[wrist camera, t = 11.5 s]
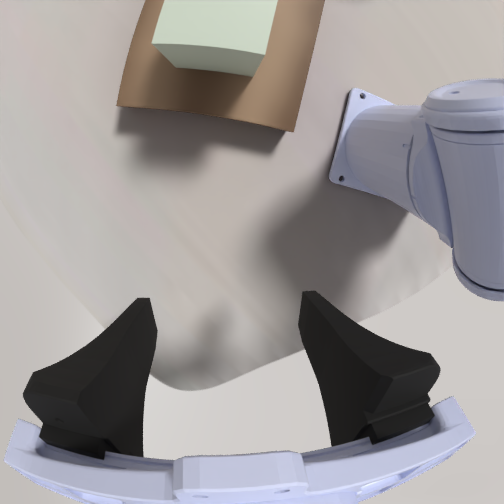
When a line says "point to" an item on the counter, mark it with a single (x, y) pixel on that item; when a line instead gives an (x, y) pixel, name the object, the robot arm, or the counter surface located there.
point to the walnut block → (227, 84)
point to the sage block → (215, 34)
